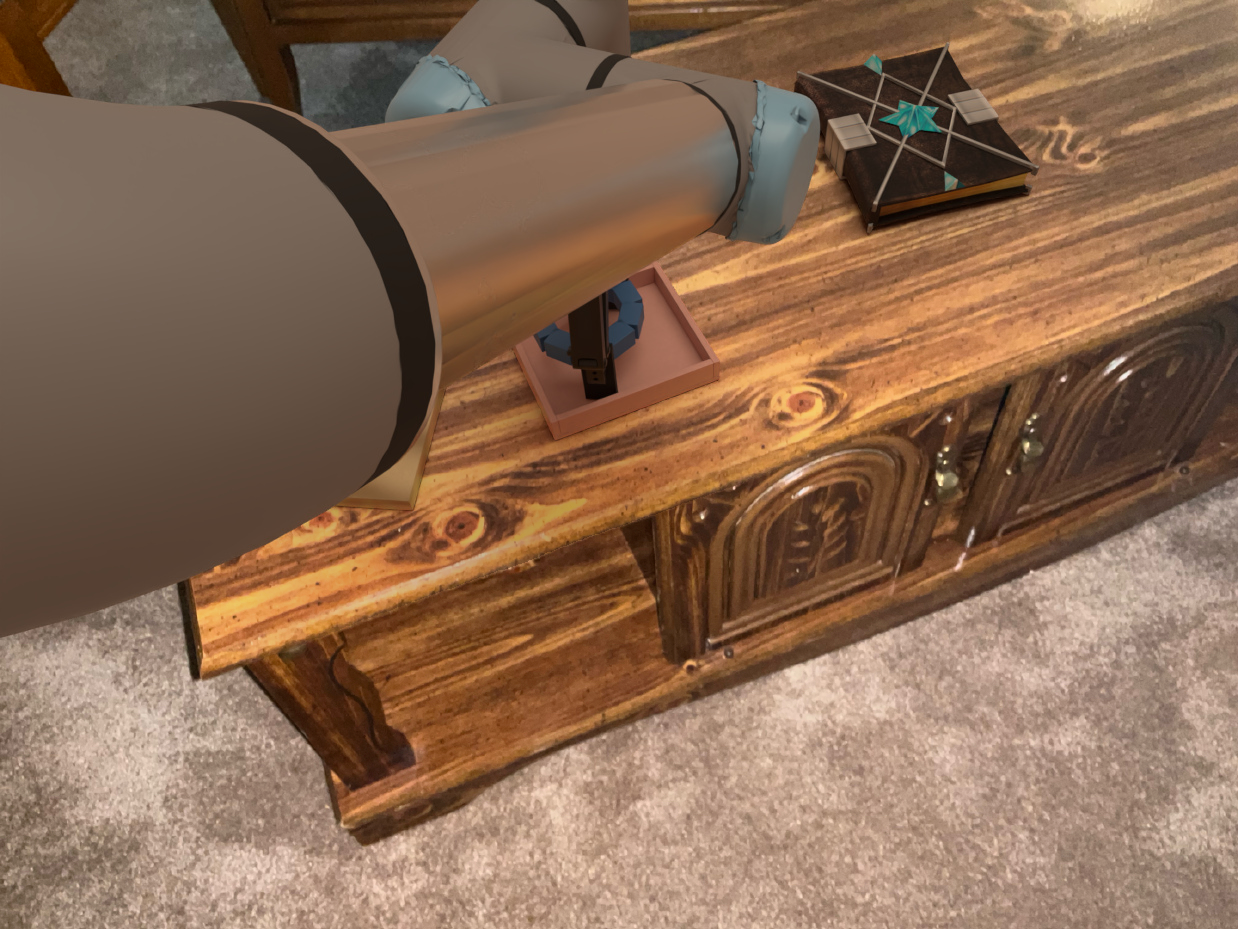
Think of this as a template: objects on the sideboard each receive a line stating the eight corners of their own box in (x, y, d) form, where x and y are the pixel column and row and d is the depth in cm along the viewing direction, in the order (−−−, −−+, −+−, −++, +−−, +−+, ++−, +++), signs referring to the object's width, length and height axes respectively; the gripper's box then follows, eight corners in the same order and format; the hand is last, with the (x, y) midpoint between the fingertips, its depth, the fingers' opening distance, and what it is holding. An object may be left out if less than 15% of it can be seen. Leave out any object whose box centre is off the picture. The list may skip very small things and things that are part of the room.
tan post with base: (413, 510, 77) (280, 235, 53) (249, 501, 79) (47, 229, 55) (449, 375, 85) (347, 80, 61) (299, 369, 87) (141, 79, 62)
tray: (555, 440, 80) (551, 423, 78) (505, 333, 87) (500, 314, 85) (719, 379, 83) (720, 360, 81) (658, 279, 90) (657, 260, 88)
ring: (609, 381, 78) (607, 367, 76) (510, 341, 81) (507, 327, 80) (663, 304, 82) (663, 289, 81) (567, 269, 85) (565, 254, 84)
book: (791, 100, 103) (795, 58, 99) (940, 69, 104) (950, 26, 100) (866, 235, 91) (874, 194, 87) (1033, 199, 92) (1049, 156, 88)
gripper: (618, 254, 59) (638, 456, 78) (652, 41, 71) (662, 260, 90) (500, 250, 60) (548, 451, 79) (553, 41, 72) (583, 258, 91)
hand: (609, 349), depth 84 cm, fingers closed on ring, 10 cm apart
